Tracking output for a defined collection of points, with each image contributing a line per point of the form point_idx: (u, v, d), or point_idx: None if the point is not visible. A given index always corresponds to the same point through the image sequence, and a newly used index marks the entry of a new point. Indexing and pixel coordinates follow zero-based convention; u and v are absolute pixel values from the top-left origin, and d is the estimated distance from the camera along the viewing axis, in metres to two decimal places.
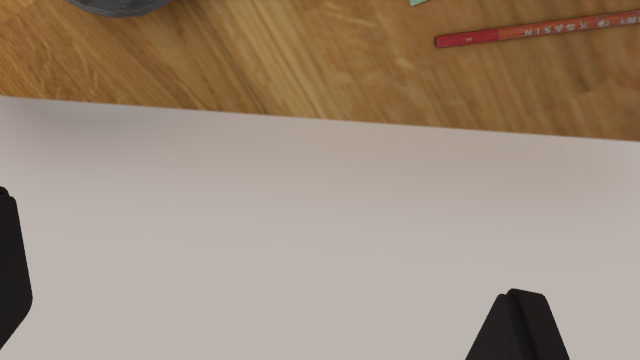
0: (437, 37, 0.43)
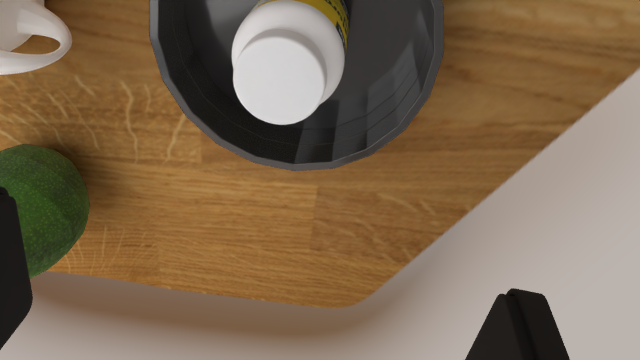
0: None
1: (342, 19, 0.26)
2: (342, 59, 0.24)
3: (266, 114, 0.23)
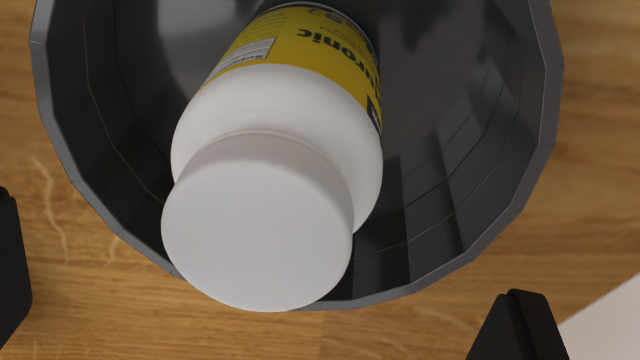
0: None
1: (373, 83, 0.15)
2: (380, 172, 0.13)
3: (233, 295, 0.11)
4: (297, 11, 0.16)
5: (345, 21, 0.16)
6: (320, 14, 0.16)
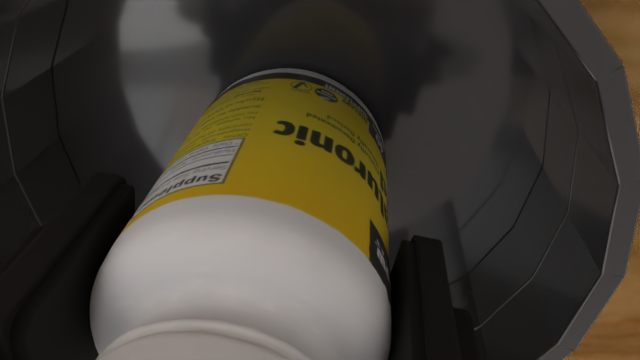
0: None
1: (378, 189, 0.11)
2: (388, 344, 0.09)
3: None
4: (278, 87, 0.12)
5: (342, 97, 0.13)
6: (309, 90, 0.12)
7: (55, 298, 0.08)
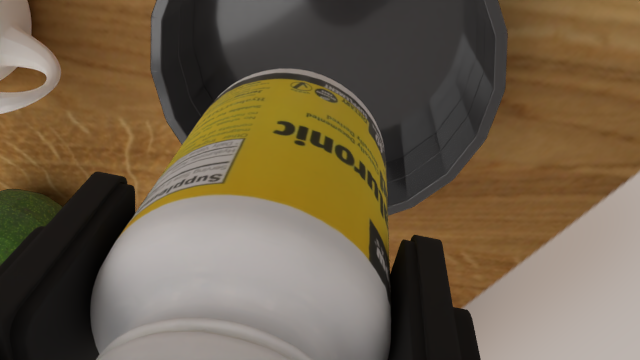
0: None
1: (378, 189, 0.11)
2: (388, 343, 0.09)
3: None
4: (278, 87, 0.12)
5: (341, 97, 0.13)
6: (308, 91, 0.12)
7: (55, 298, 0.08)
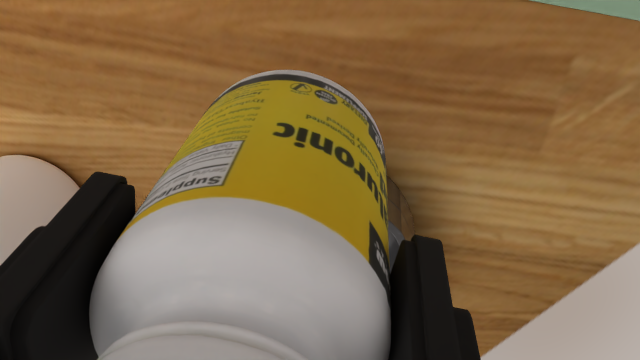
0: None
1: (378, 191, 0.11)
2: (388, 346, 0.09)
3: None
4: (278, 89, 0.12)
5: (341, 98, 0.13)
6: (308, 92, 0.12)
7: (55, 298, 0.08)
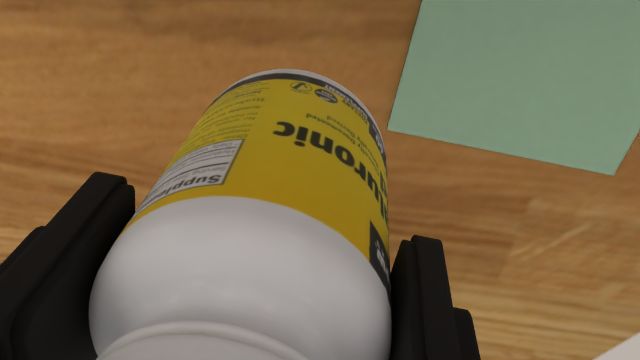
0: None
1: (378, 190, 0.11)
2: (388, 345, 0.09)
3: None
4: (278, 88, 0.12)
5: (341, 97, 0.13)
6: (308, 91, 0.12)
7: (55, 298, 0.08)
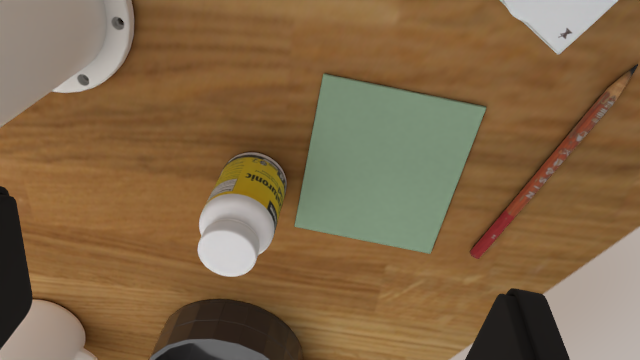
0: (471, 252, 0.44)
1: (276, 192, 0.39)
2: (271, 229, 0.36)
3: (220, 270, 0.35)
4: (248, 161, 0.40)
5: (268, 163, 0.40)
6: (257, 162, 0.40)
7: None
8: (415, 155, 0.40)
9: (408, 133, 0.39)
